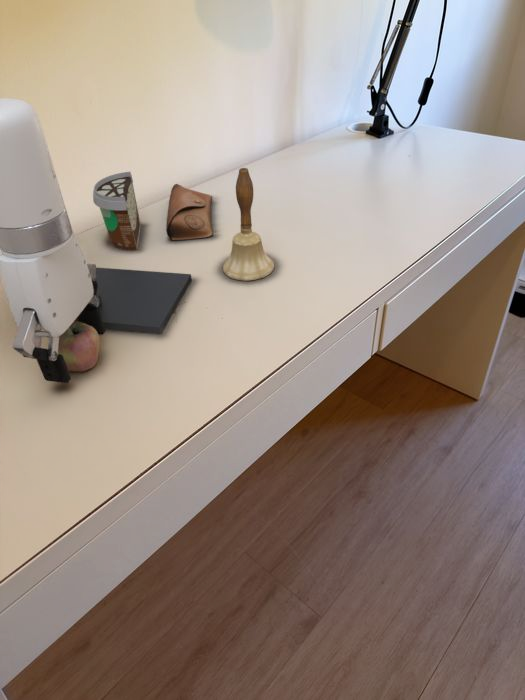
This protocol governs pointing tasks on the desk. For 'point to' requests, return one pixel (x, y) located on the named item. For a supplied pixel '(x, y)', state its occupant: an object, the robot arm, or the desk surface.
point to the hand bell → (247, 239)
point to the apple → (79, 346)
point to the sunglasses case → (188, 214)
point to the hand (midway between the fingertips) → (77, 355)
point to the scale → (138, 298)
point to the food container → (119, 209)
